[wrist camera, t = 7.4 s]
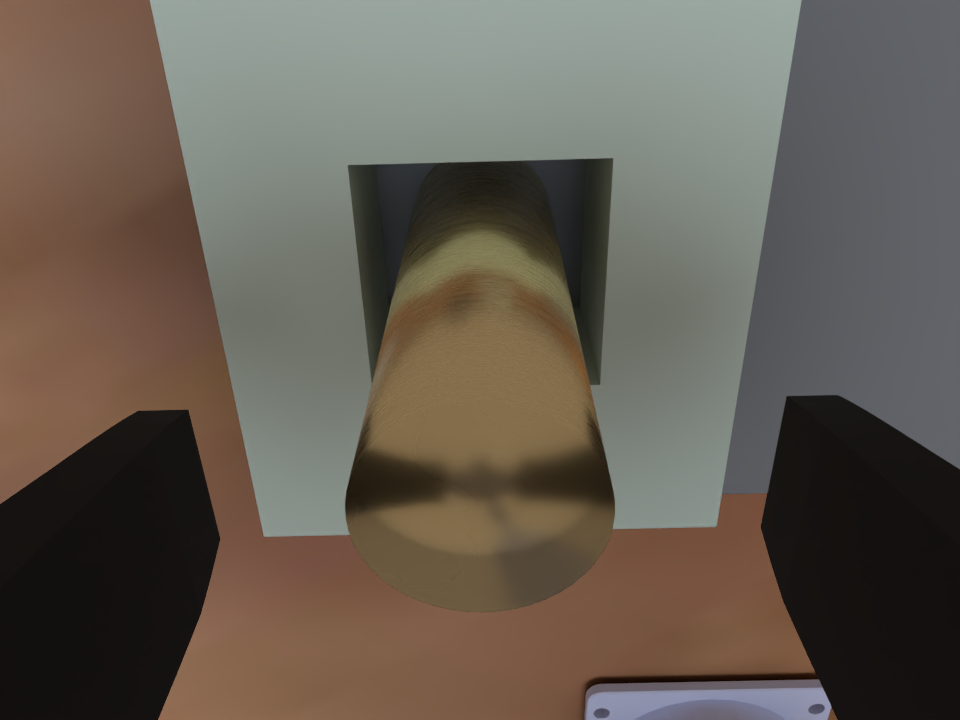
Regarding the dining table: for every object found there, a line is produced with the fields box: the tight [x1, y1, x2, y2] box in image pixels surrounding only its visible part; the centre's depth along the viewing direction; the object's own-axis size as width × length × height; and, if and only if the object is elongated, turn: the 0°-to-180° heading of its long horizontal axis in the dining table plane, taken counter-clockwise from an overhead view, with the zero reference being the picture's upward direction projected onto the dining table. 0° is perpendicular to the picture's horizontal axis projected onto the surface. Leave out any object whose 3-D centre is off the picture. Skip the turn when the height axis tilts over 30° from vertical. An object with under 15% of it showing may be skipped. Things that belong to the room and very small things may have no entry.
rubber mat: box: [376, 0, 960, 494], centre depth 18 cm, size 15×20×1 cm
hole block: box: [150, 0, 802, 537], centre depth 16 cm, size 12×10×4 cm
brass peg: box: [345, 161, 615, 612], centre depth 13 cm, size 3×3×10 cm
